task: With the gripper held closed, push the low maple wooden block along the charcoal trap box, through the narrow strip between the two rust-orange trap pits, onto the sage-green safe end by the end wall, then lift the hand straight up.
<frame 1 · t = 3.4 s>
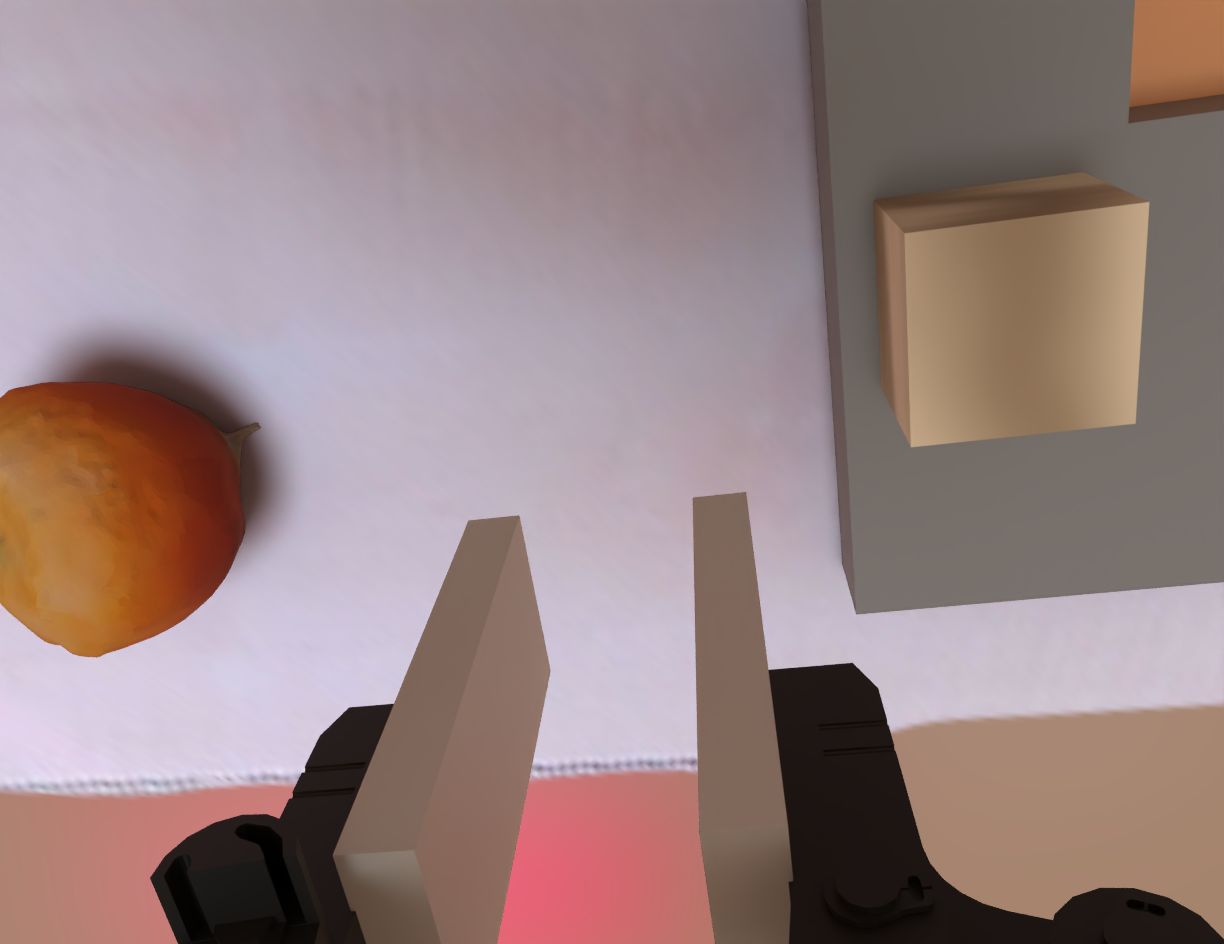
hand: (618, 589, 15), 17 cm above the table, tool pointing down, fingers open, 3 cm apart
block: (977, 285, 27), point 3 cm above the table, touching trap box
fruit: (158, 462, 34), on the table
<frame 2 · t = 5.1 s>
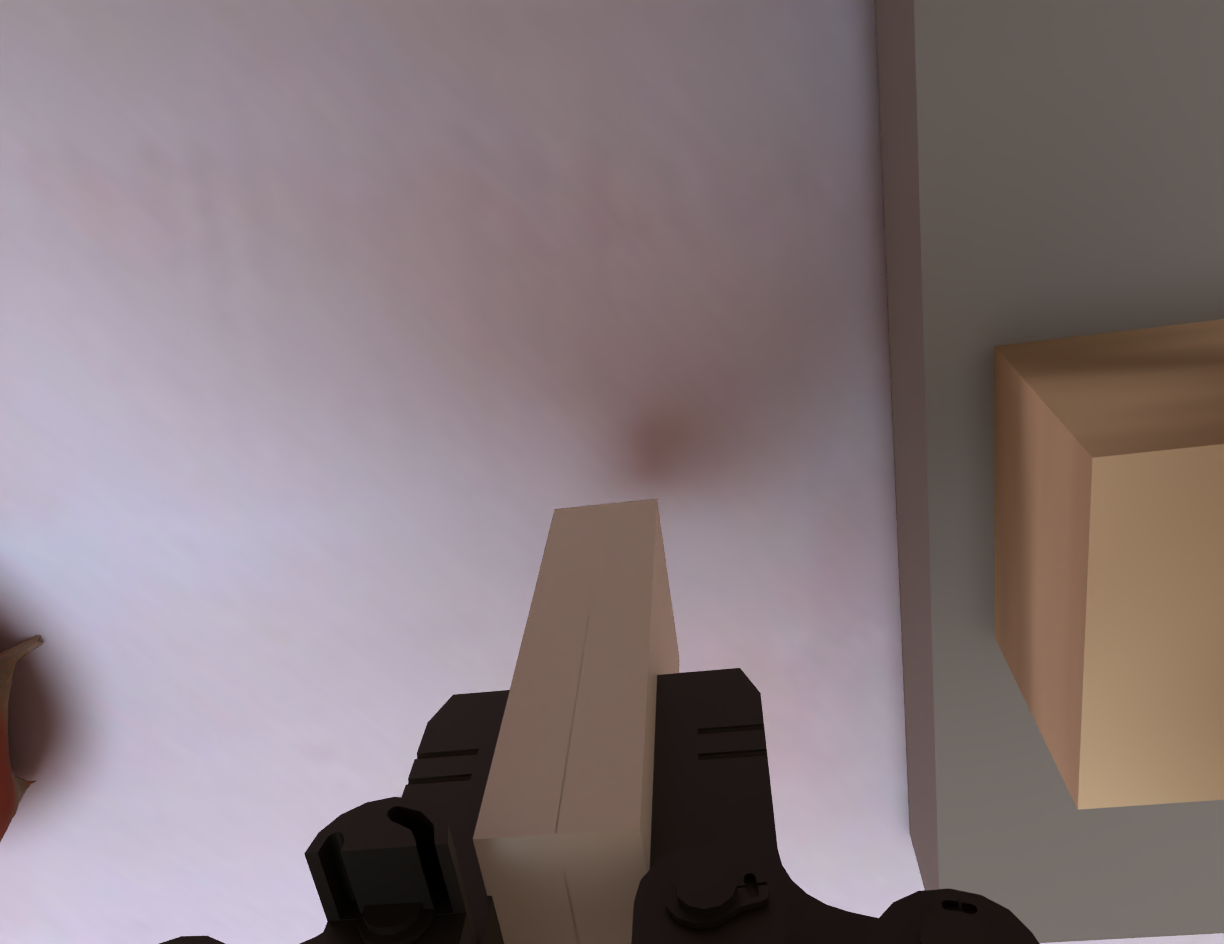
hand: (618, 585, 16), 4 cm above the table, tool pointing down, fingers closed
block: (1164, 483, 16), point 3 cm above the table, touching trap box
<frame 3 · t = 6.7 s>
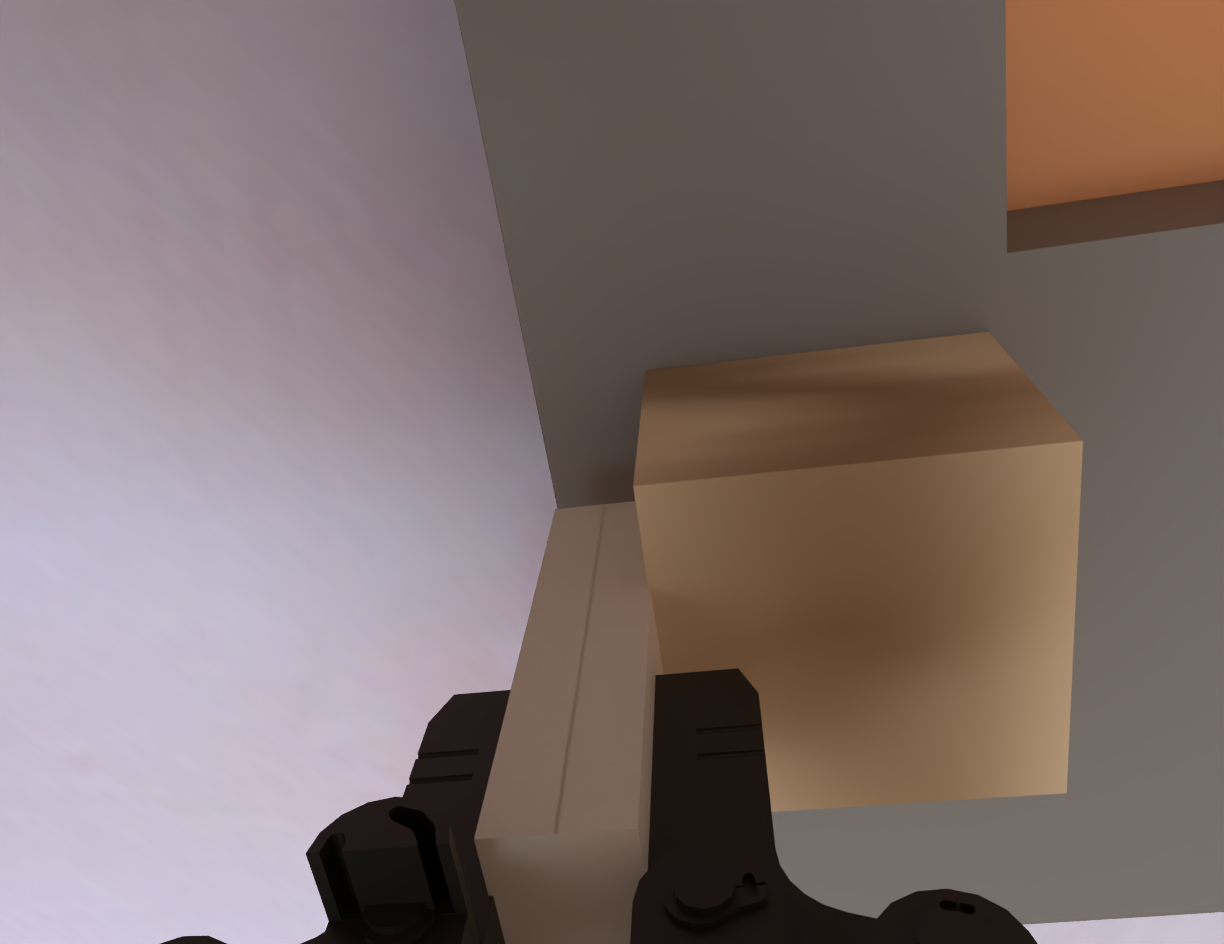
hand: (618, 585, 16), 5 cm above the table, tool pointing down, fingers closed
block: (823, 502, 16), point 3 cm above the table, touching gripper
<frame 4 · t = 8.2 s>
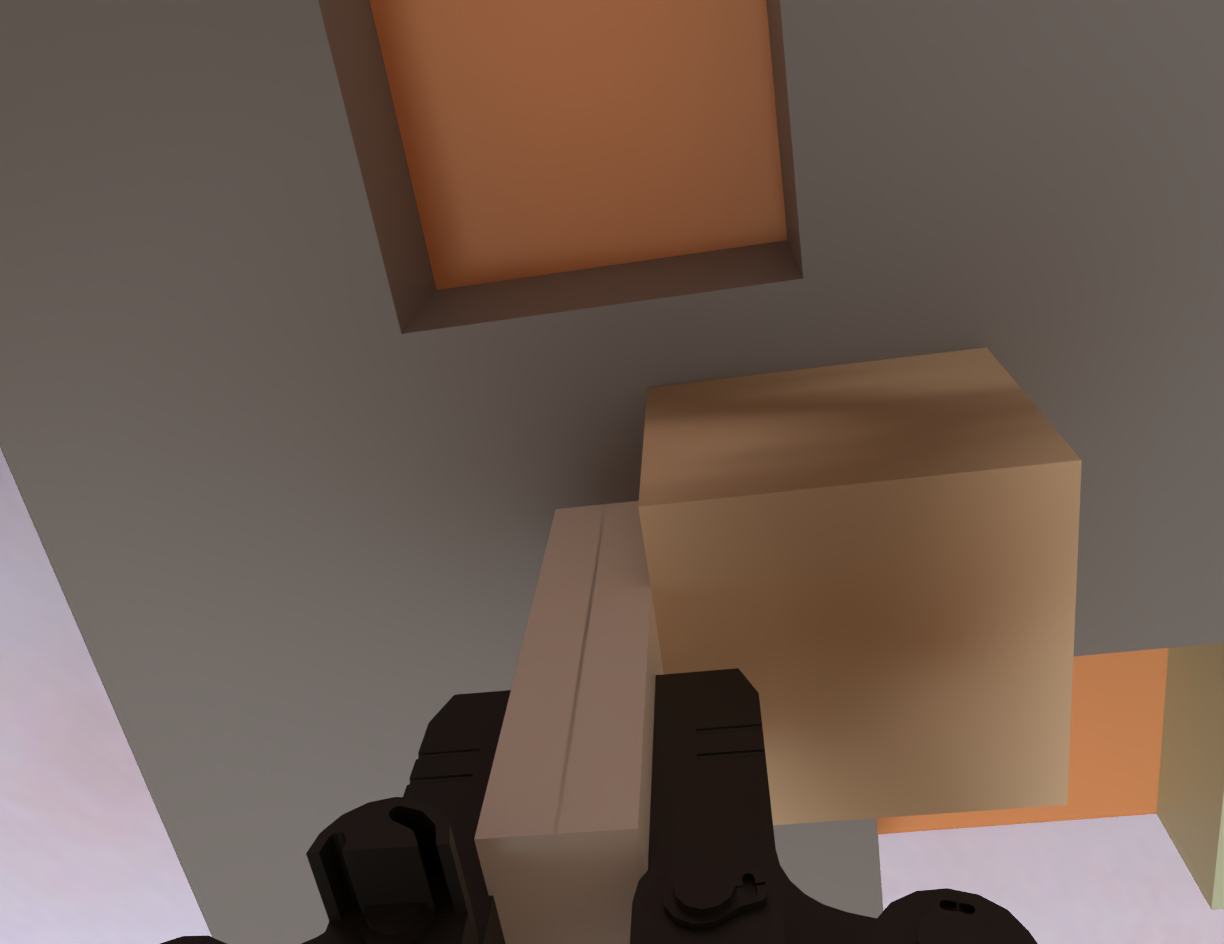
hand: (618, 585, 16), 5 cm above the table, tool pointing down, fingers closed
block: (824, 516, 17), point 3 cm above the table, touching gripper, trap box
trap box: (774, 426, 19), on the table
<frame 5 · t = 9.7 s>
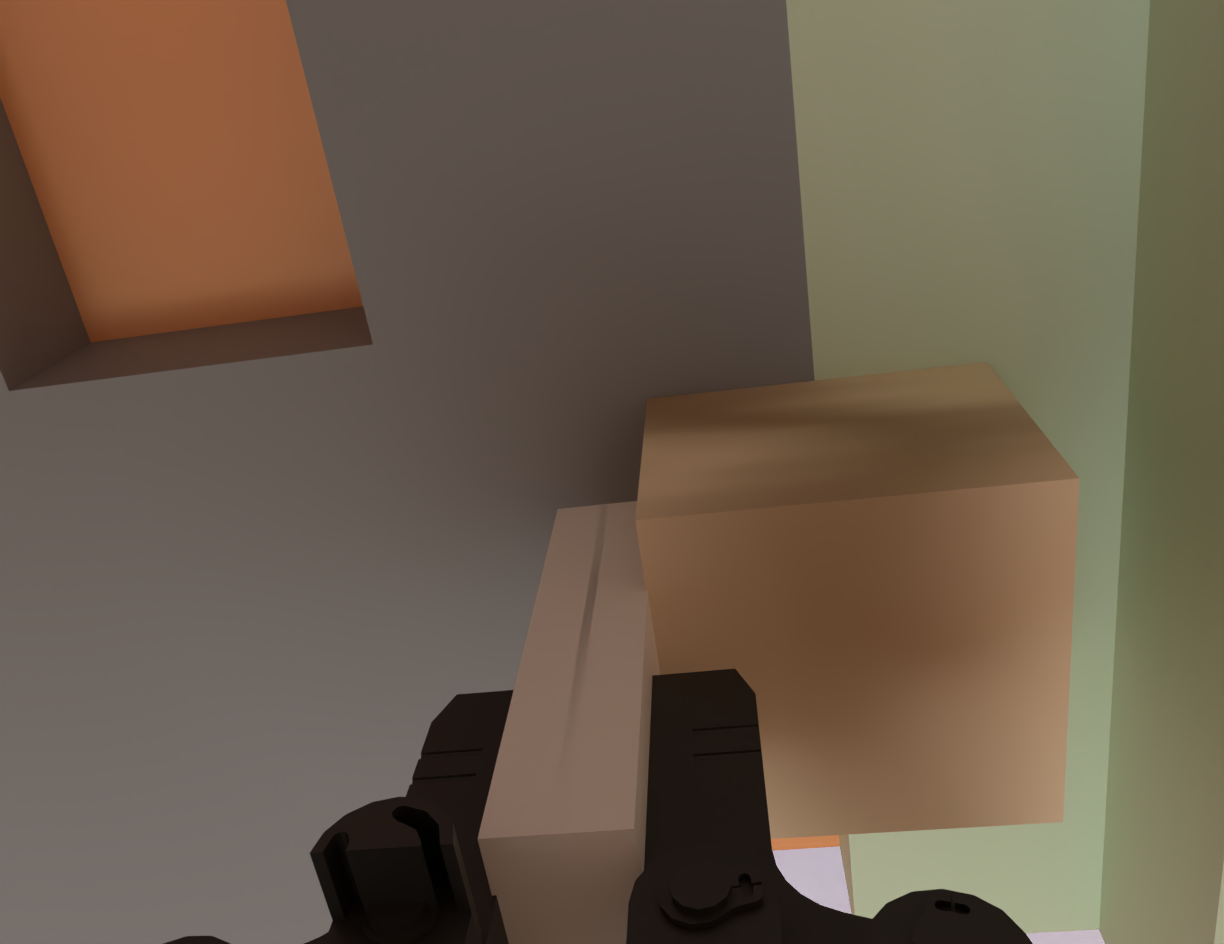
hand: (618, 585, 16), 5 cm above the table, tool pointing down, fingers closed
block: (823, 528, 17), point 3 cm above the table, touching gripper
trap box: (434, 473, 20), on the table
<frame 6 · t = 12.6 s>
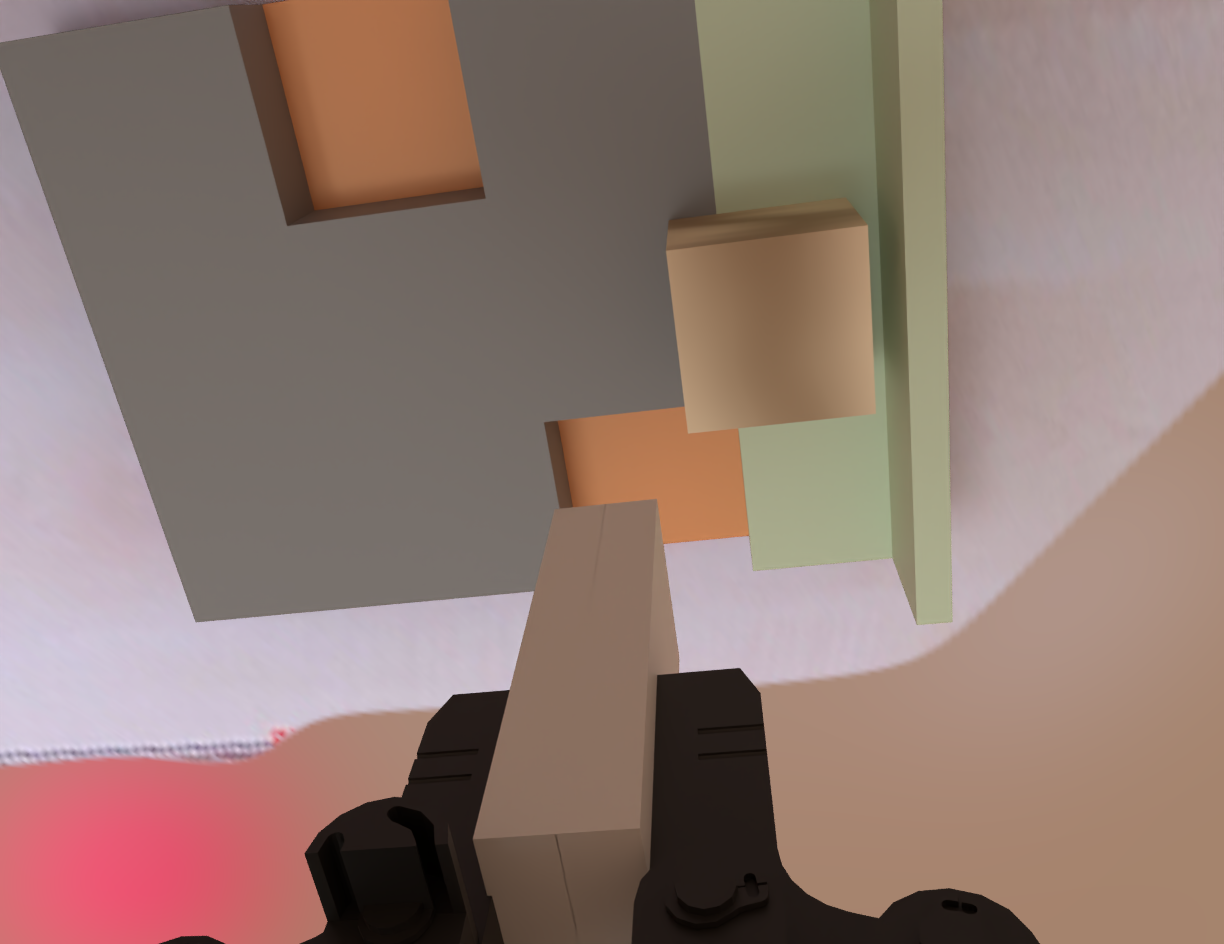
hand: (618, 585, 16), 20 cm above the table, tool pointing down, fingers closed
block: (763, 294, 31), point 3 cm above the table, touching trap box
trap box: (507, 292, 34), on the table
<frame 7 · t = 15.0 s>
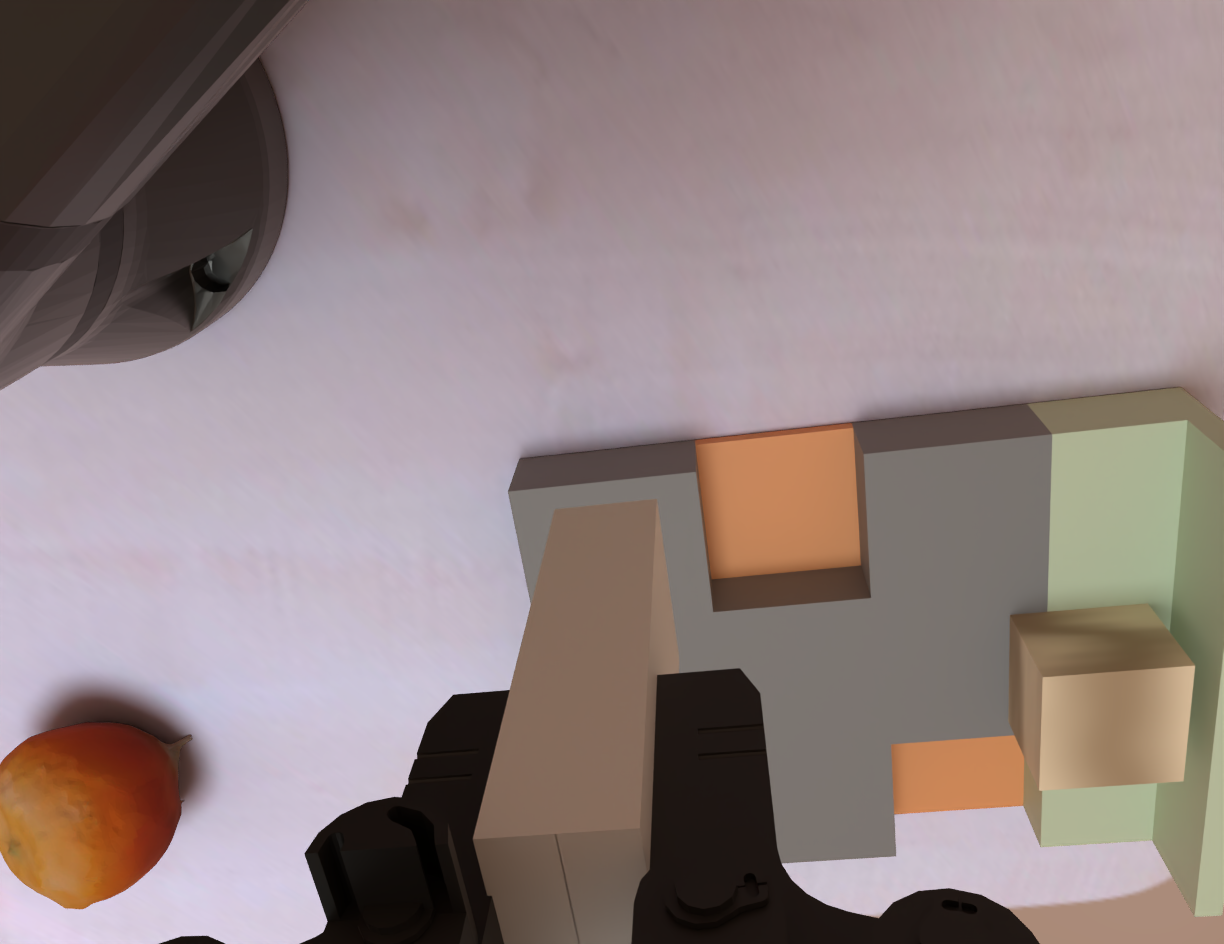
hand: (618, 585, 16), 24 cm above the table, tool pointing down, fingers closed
block: (1075, 664, 41), point 3 cm above the table, touching trap box
trap box: (850, 633, 44), on the table
fruit: (124, 755, 50), on the table
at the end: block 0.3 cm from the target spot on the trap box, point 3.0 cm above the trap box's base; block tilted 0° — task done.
